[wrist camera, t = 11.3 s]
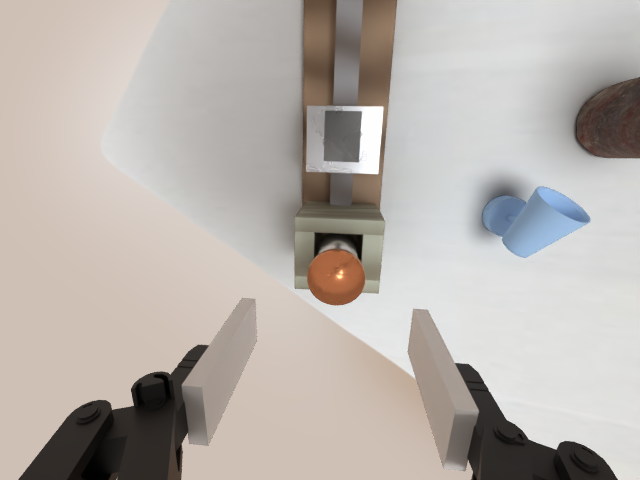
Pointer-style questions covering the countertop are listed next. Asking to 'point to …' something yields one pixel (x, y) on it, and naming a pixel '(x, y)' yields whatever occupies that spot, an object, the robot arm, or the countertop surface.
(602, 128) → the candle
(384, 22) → the rail
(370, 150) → the carriage
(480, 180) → the countertop surface
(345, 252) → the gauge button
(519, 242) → the spotlight
